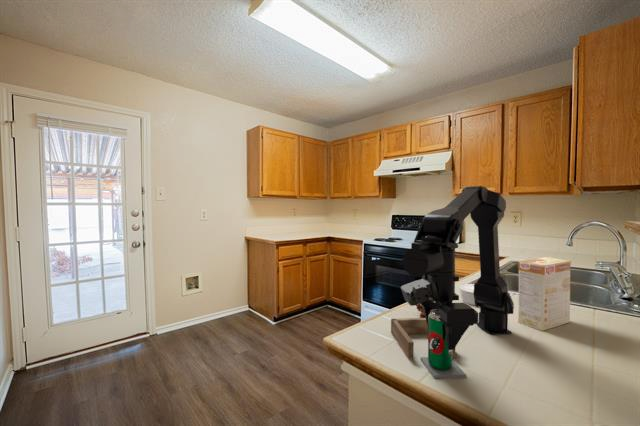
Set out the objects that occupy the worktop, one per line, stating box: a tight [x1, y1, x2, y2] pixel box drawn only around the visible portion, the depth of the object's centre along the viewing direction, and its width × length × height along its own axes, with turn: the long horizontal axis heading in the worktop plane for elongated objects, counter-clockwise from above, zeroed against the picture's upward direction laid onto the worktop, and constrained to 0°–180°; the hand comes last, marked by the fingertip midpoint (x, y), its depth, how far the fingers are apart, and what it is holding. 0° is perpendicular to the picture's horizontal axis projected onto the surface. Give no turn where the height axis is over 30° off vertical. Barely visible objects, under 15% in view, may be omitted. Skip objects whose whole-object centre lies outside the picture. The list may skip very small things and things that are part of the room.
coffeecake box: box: [517, 256, 571, 332], centre depth 85 cm, size 15×7×20 cm, turn 113°
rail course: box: [390, 317, 456, 360], centre depth 72 cm, size 13×14×4 cm
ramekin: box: [458, 283, 475, 306], centre depth 104 cm, size 11×11×5 cm
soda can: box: [427, 309, 454, 371], centre depth 61 cm, size 5×5×12 cm
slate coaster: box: [420, 356, 467, 379], centre depth 61 cm, size 7×7×1 cm
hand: (440, 338), depth 61 cm, fingers open, 9 cm apart
